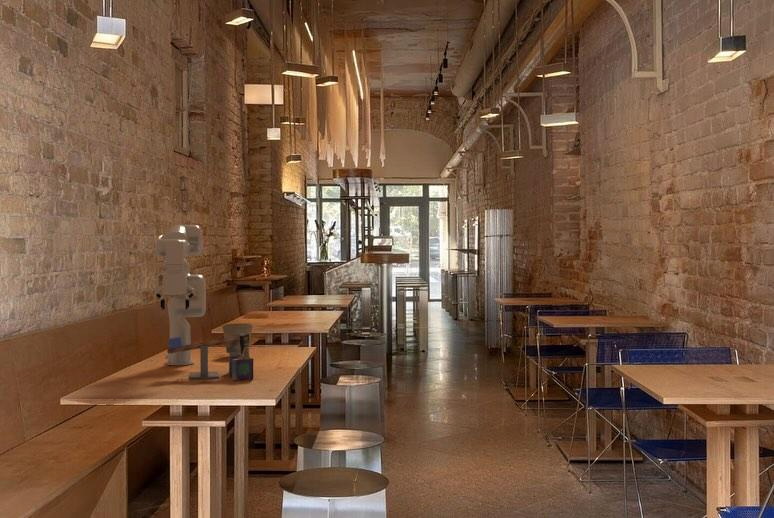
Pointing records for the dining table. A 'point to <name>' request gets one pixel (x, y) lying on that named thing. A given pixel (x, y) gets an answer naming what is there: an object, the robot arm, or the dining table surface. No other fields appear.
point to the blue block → (175, 342)
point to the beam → (230, 343)
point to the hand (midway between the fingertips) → (175, 309)
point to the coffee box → (241, 345)
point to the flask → (242, 369)
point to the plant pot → (237, 329)
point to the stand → (204, 366)
